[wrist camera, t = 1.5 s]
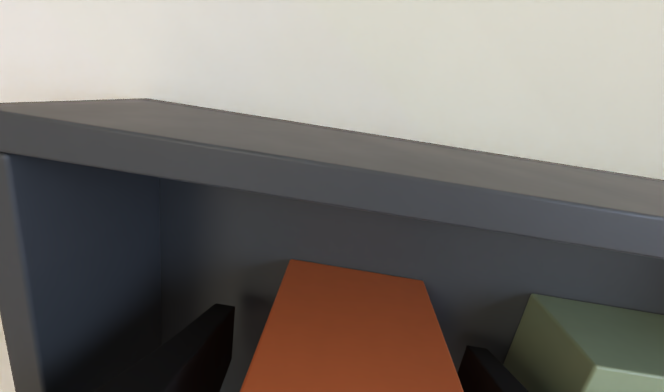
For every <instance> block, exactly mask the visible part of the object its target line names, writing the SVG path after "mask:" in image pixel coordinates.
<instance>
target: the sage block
mask: <svg viewBox="0 0 664 392" xmlns="http://www.w3.org/2000/svg"><path fill="white" fill-rule="evenodd" d="M503 365H504V366H505V367H506V368H507V369H508V370H509V372H510V373H511V374H512V375H513V376H514V377H515V378H516V379H517V380H518V381H519V382H520V383H521V384H522V385H523V386H524V387H525V388H526V389H527V390H528V391H529V392H664V315H660V314H654V313H648V312H642V311H636V310H630V309H624V308H618V307H612V306H606V305H600V304H594V303H587V302H581V301H575V300H569V299H563V298H557V297H551V296H545V295H539V294H531V295H530V298H529V300H528V303H527V305H526V308H525V310H524V313H523V316H522V318H521V321H520V323H519V326H518V328H517V331H516V333H515V336H514V338H513V341H512V344H511V346H510V349H509V351H508V354H507V356H506V359H505V361H504V364H503Z"/></svg>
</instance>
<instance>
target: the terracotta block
mask: <svg viewBox="0 0 664 392" xmlns="http://www.w3.org/2000/svg"><path fill="white" fill-rule="evenodd" d="M240 392H464V391H463V388H462V385H461V383H460V380H459V377H458V374H457V372H456V369H455V366H454V363H453V361H452V358H451V355H450V353H449V350H448V347H447V344H446V342H445V339H444V336H443V333H442V331H441V328H440V325H439V323H438V320H437V317H436V314H435V312H434V309H433V306H432V303H431V301H430V298H429V295H428V293H427V290H426V287H425V284H424V282H423V281H421V280H415V279H409V278H403V277H397V276H391V275H385V274H379V273H373V272H367V271H361V270H354V269H348V268H342V267H336V266H330V265H324V264H318V263H312V262H306V261H300V260H294V259H291V260H290V261H289V264H288V266H287V269H286V272H285V274H284V277H283V279H282V282H281V285H280V287H279V290H278V293H277V295H276V298H275V300H274V303H273V306H272V308H271V311H270V314H269V316H268V319H267V321H266V324H265V327H264V329H263V332H262V335H261V337H260V340H259V342H258V345H257V348H256V350H255V353H254V356H253V358H252V361H251V363H250V366H249V369H248V371H247V374H246V377H245V379H244V382H243V384H242V387H241V390H240Z"/></svg>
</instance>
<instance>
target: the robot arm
mask: <svg viewBox="0 0 664 392" xmlns="http://www.w3.org/2000/svg"><path fill="white" fill-rule="evenodd" d="M234 318H235V306H230V305H224V304H218V303H216V304H214V305H213V306H211V307H210V308H209V309H207V310H206V311H205V312H204V313H202V314H201V315H200V316H199V317H197V318H196V319H195V320H194V321H192V322H191V323H190V324H189V325H187V326H186V327H185V328H183V329H182V330H181V331H180V332H178V333H177V334H176V335H174V336H173V337H172V338H170V339H169V340H168V341H166V342H165V343H164V344H162V345H161V346H160V347H158V348H157V349H156V350H154V351H153V352H151V353H150V354H148V355H147V356H146V357H144V358H143V359H141V360H140V361H138V362H137V363H135V364H134V365H132V366H131V367H130V368H128V369H127V370H125V371H124V372H122V373H121V374H119V375H117V376H116V377H114V378H113V379H111V380H110V381H108V382H106V383H105V384H103V385H102V386H100V387H98V388H97V389H95V390H93V391H92V392H220V389H221V387H222V384H223V381H224V379H225V376H226V373H227V371H228V368H229V365H230V362H231V360H232V348H233V333H234ZM457 374H458V377H459V380H460V383H461V385H462V388H463V391H464V392H529V391H528V390H527V389H526V388H525V387H524V386H523V385H522V384H521V383H520V382H519V381H518V380H517V379H516V378H515V377H514V376H513V375H512V374H511V373H510V372H509V370H508V369H507V368H506V367H505V366H504V365H503V364H502V363H501V362H500V361H499V360H498V359H497V358H496V357H495V356H494V355H493V354H492V353H491V352H490V351H489V350H488V349H486V348H480V347H474V346H468V345H467V346H466V349H465V352H464V355H463V358H462V361H461V364H460V367H459V370H458V373H457Z"/></svg>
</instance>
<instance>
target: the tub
mask: <svg viewBox="0 0 664 392" xmlns="http://www.w3.org/2000/svg"><path fill="white" fill-rule="evenodd" d="M291 259H294V260H300V261H306V262H312V263H318V264H324V265H330V266H336V267H342V268H348V269H354V270H361V271H367V272H373V273H379V274H385V275H391V276H397V277H403V278H409V279H415V280H421V281H423V282H424V284H425V287H426V290H427V293H428V295H429V298H430V301H431V303H432V306H433V309H434V312H435V314H436V317H437V320H438V323H439V325H440V328H441V331H442V333H443V336H444V339H445V342H446V344H447V347H448V350H449V353H450V355H451V358H452V361H453V363H454V366H455V369H456V372H457V373H458V370H459V367H460V364H461V361H462V358H463V355H464V352H465V349H466V346H467V345H468V346H474V347H480V348H486V349H488V350H489V351H490V352H491V353H492V354H493V355H494V356H495V357H496V358H497V359H498V360H499V361H500V362H501V363H502V364H504V361H505V359H506V356H507V354H508V351H509V349H510V346H511V344H512V341H513V338H514V336H515V333H516V331H517V328H518V326H519V323H520V321H521V318H522V316H523V313H524V310H525V308H526V305H527V303H528V300H529V298H530V295H531V294H539V295H545V296H551V297H557V298H563V299H569V300H575V301H581V302H587V303H594V304H600V305H606V306H612V307H618V308H624V309H630V310H636V311H642V312H648V313H654V314H660V315H664V180H659V179H652V178H646V177H640V176H633V175H627V174H621V173H614V172H608V171H602V170H596V169H589V168H583V167H577V166H570V165H564V164H558V163H551V162H545V161H539V160H532V159H526V158H520V157H513V156H507V155H501V154H494V153H488V152H482V151H476V150H469V149H463V148H457V147H450V146H444V145H438V144H431V143H425V142H419V141H412V140H406V139H400V138H393V137H387V136H381V135H374V134H368V133H362V132H355V131H349V130H343V129H337V128H330V127H324V126H318V125H311V124H305V123H299V122H292V121H286V120H280V119H273V118H267V117H261V116H254V115H248V114H242V113H235V112H229V111H223V110H217V109H210V108H204V107H198V106H191V105H185V104H179V103H172V102H166V101H160V100H153V99H147V98H145V99H115V100H83V101H50V102H18V103H0V314H1V319H2V325H3V330H4V335H5V340H6V345H7V350H8V355H9V360H10V365H11V370H12V375H13V381H14V386H15V391H16V392H92V391H93V390H95V389H97V388H98V387H100V386H102V385H103V384H105V383H106V382H108V381H110V380H111V379H113V378H114V377H116V376H117V375H119V374H121V373H122V372H124V371H125V370H127V369H128V368H130V367H131V366H132V365H134V364H135V363H137V362H138V361H140V360H141V359H143V358H144V357H146V356H147V355H148V354H150V353H151V352H153V351H154V350H156V349H157V348H158V347H160V346H161V345H162V344H164V343H165V342H166V341H168V340H169V339H170V338H172V337H173V336H174V335H176V334H177V333H178V332H180V331H181V330H182V329H183V328H185V327H186V326H187V325H189V324H190V323H191V322H192V321H194V320H195V319H196V318H197V317H199V316H200V315H201V314H202V313H204V312H205V311H206V310H207V309H209V308H210V307H211V306H213V305H214V304H216V303H218V304H224V305H230V306H235V318H234V333H233V348H232V360H231V362H230V365H229V368H228V371H227V373H226V376H225V379H224V381H223V384H222V387H221V389H220V392H240V390H241V387H242V384H243V382H244V379H245V377H246V374H247V371H248V369H249V366H250V363H251V361H252V358H253V356H254V353H255V350H256V348H257V345H258V342H259V340H260V337H261V335H262V332H263V329H264V327H265V324H266V321H267V319H268V316H269V314H270V311H271V308H272V306H273V303H274V300H275V298H276V295H277V293H278V290H279V287H280V285H281V282H282V279H283V277H284V274H285V272H286V269H287V266H288V264H289V261H290V260H291Z"/></svg>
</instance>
